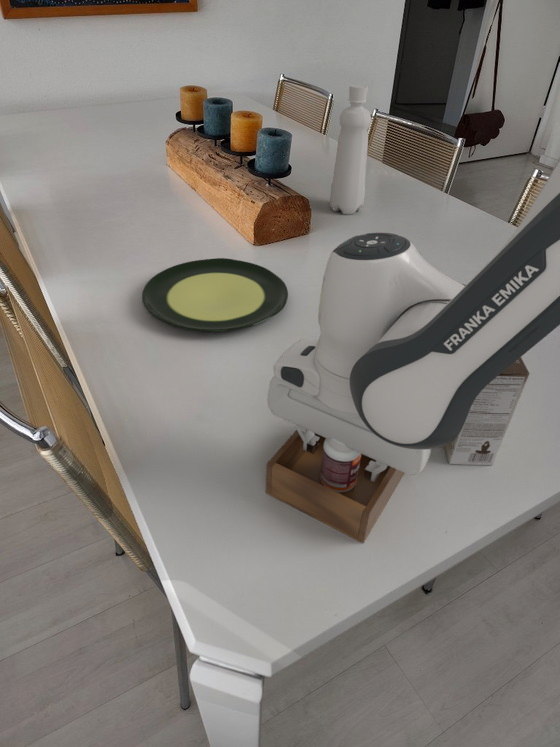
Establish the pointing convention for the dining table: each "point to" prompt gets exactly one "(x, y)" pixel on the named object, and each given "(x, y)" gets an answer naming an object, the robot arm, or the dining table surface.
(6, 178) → the dining table surface
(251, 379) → the dining table surface
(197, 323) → the plate
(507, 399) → the coffee box
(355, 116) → the bottle
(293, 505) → the wooden box
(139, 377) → the dining table surface
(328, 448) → the pill bottle
